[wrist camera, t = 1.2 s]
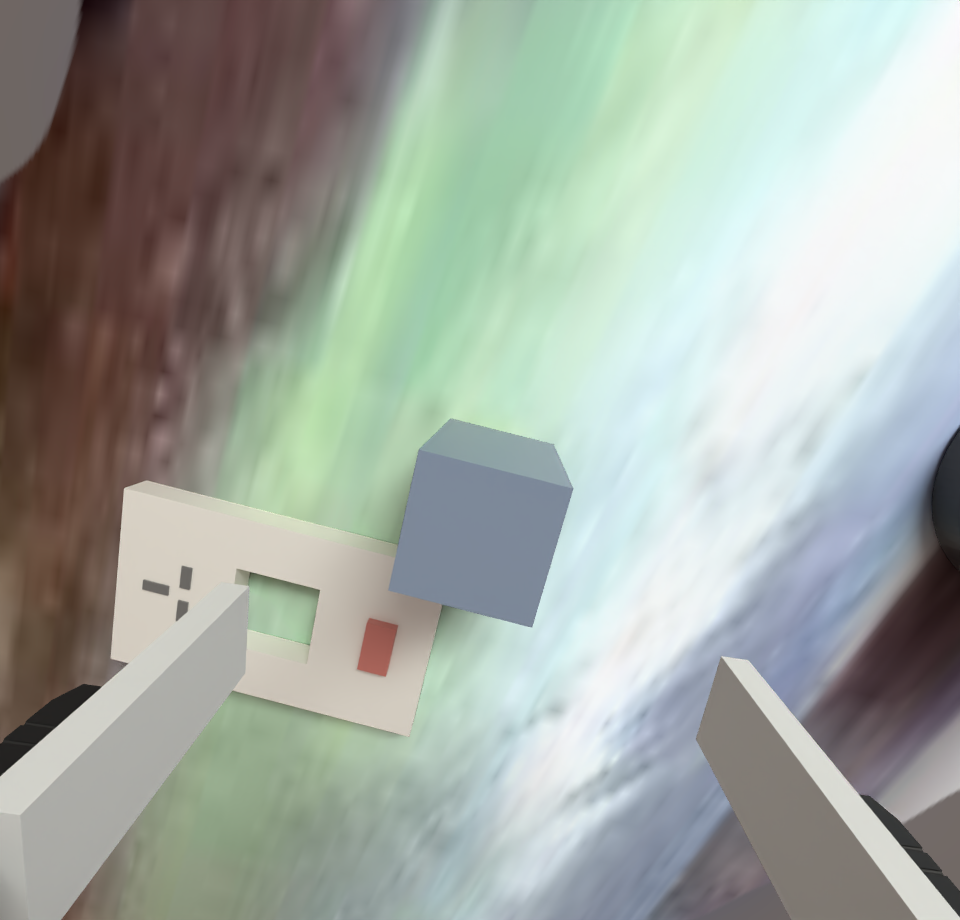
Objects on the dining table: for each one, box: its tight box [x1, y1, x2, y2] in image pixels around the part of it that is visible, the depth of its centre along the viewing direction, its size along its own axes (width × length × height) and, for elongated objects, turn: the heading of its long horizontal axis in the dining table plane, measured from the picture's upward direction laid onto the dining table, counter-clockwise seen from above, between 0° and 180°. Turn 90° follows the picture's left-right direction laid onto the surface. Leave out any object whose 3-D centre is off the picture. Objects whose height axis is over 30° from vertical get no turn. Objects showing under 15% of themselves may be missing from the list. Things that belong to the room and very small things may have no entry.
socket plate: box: [111, 481, 442, 737], centre depth 34 cm, size 22×13×3 cm, turn 76°
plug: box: [388, 418, 573, 627], centre depth 26 cm, size 6×6×12 cm
